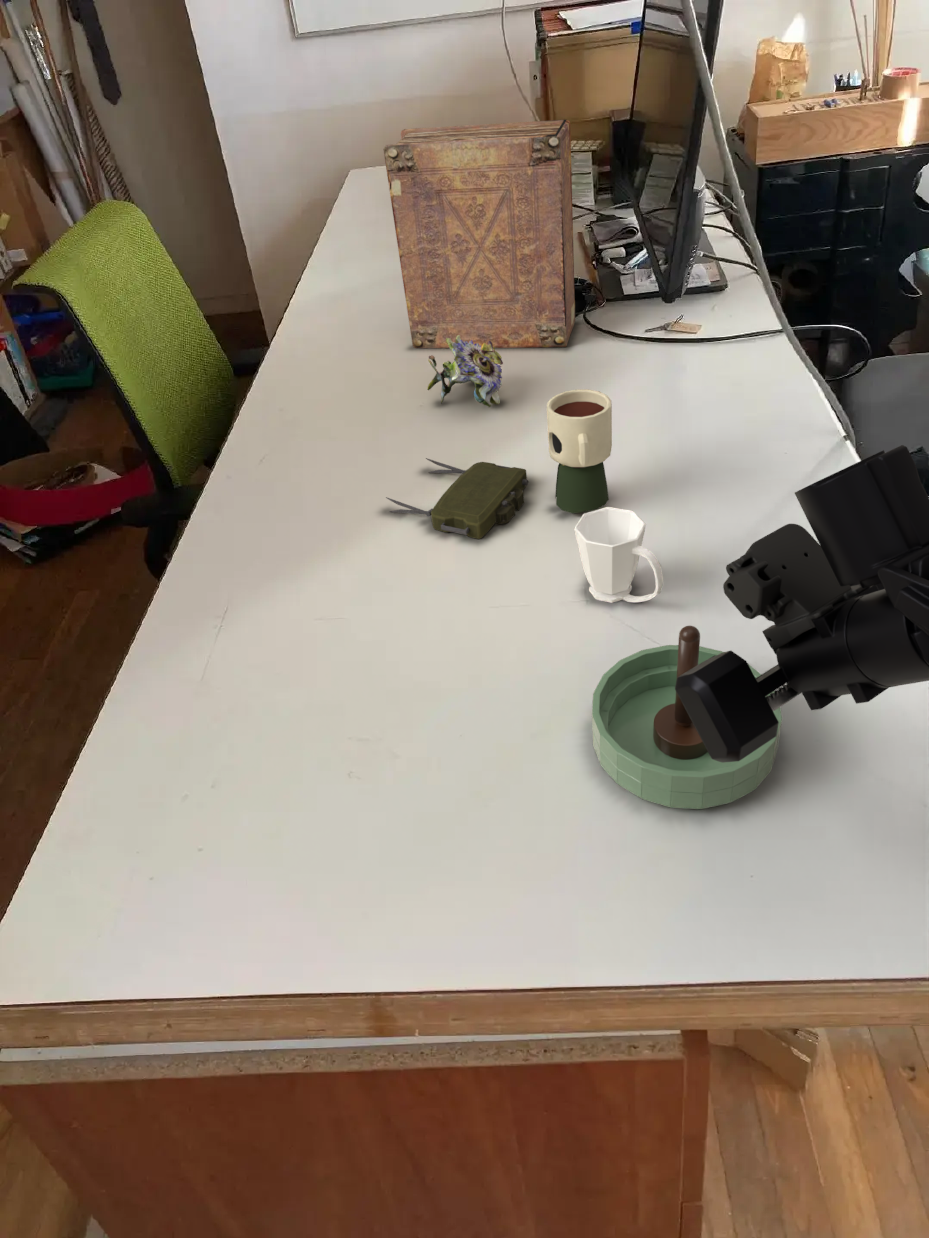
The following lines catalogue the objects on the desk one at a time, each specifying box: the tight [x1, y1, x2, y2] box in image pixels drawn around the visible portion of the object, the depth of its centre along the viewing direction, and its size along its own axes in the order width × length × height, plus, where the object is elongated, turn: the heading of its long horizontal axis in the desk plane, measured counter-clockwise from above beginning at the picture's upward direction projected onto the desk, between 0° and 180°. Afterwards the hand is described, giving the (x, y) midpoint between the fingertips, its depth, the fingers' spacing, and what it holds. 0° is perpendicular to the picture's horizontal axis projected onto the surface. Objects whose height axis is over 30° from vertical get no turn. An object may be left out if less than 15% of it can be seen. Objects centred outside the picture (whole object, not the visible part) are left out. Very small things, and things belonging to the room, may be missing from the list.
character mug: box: [546, 388, 613, 514], centre depth 106 cm, size 11×7×13 cm, turn 0°
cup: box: [573, 506, 664, 604], centre depth 93 cm, size 7×10×8 cm
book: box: [383, 119, 576, 349], centre depth 141 cm, size 25×9×30 cm, turn 77°
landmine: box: [385, 457, 529, 540], centre depth 112 cm, size 14×3×15 cm
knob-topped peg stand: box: [653, 625, 708, 760], centre depth 76 cm, size 5×5×12 cm
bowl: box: [591, 644, 783, 810], centre depth 78 cm, size 15×15×4 cm
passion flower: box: [427, 335, 504, 408], centre depth 131 cm, size 11×11×12 cm
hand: (731, 674), depth 70 cm, fingers open, 9 cm apart
